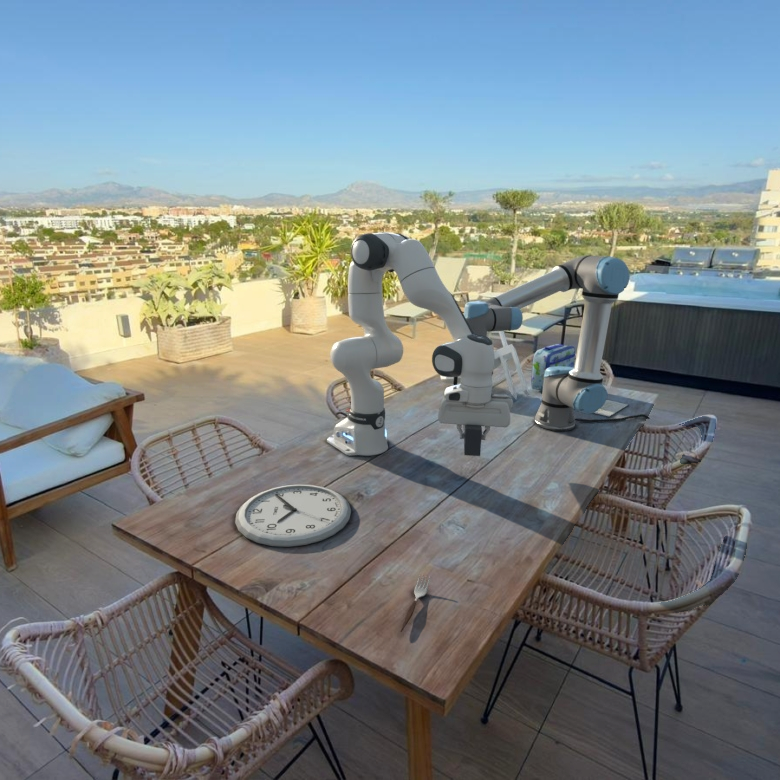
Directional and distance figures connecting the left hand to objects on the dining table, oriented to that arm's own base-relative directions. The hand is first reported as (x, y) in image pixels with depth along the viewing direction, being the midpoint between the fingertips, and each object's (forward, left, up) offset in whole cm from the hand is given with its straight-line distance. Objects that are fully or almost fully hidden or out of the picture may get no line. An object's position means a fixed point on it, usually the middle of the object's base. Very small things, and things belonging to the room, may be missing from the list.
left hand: (472, 438), depth 150 cm
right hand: (-15, +21, -3) cm, 26 cm away
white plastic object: (-49, +80, -15) cm, 95 cm away
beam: (-8, +11, -3) cm, 13 cm away
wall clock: (-24, -46, -15) cm, 54 cm away
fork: (+22, -51, -15) cm, 57 cm away
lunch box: (-29, +110, -15) cm, 115 cm away
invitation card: (-1, +101, -15) cm, 102 cm away
